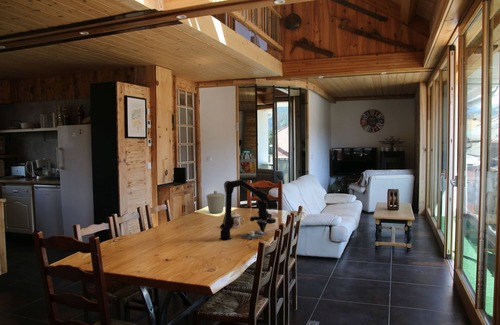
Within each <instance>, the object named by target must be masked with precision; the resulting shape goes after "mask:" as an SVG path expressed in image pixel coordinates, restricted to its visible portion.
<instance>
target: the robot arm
mask: <svg viewBox="0 0 500 325" xmlns="http://www.w3.org/2000/svg"><path fill="white" fill-rule="evenodd" d="M240 186H241V187H243V188H244V189H245V190H247V191H249V192H250V193H252V194H253V196H255V198H257V199H258V200H256V201H255V204H256V205H258V211H257V212H256V213H257V214H258V215H257V216H256V215H253V216H251V217H250V218H249V221H250V222H254V221H256V224H257V226H258V227H259V228H260V229H261V231H262V232H265V229H266V226H267V225H268V224H269V225H270V224H275V223H276V222H277V220H276V218H274V217H273V218H272V216H273V215H272V213H269V211H268V210H277V209H278V203H277V199H274V198H273V199H269V197H268V194H267V193H266V192H264V191H262V190H258V189H257V188H255V187H254V186H252V185H250V184H249V183H248V182H246V181H245V180H243V179H236V180H226V181H225V182H224V183H223V187H224V194H225V200H224V210H225V211H224V216H223V220H222V223H221V225H220V226H219V228H220V238H219V240H220V241H229V240H232V239H233V238H232V237H231V229H233V228H232V227H233V224H234V218H233V217H232V216H231V215H232V206H233V205H232V204H233V203H232V202H233V193H234V189H235V188H238V187H240ZM267 209H268V210H267Z"/></svg>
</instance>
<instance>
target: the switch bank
mask: <svg viewBox="0 0 500 325" xmlns="http://www.w3.org/2000/svg"><path fill="white" fill-rule="evenodd" d="M254 232H255V236H249V235H250V233H244V234H242V236H241V239H244V240H249V241H254V240H256V239H258V238H262V237H264V236H267V235H268V232H267V231H264V232H263V233H257V232H258V230H254Z"/></svg>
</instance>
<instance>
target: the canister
mask: <svg viewBox="0 0 500 325" xmlns="http://www.w3.org/2000/svg"><path fill="white" fill-rule="evenodd" d="M205 197H206V199H207V200H206V201H207V208H208V212H209V213H210V214H215V215H216V214H221V213H223V212H224V209H225V197H226V194H225V193H221V192H219V193H218V191H217V190H214V191H213V193H208V194H207V195H206V196H205Z"/></svg>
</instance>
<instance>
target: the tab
mask: <svg viewBox="0 0 500 325" xmlns="http://www.w3.org/2000/svg"><path fill="white" fill-rule="evenodd" d="M254 231H255V230H254ZM254 231H253V230H251V231H250V232H249V234H250V235H249V236H255V232H254Z"/></svg>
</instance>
